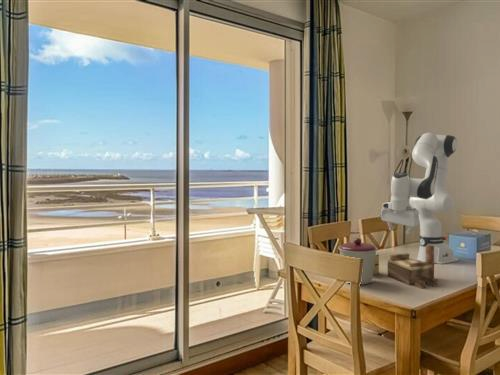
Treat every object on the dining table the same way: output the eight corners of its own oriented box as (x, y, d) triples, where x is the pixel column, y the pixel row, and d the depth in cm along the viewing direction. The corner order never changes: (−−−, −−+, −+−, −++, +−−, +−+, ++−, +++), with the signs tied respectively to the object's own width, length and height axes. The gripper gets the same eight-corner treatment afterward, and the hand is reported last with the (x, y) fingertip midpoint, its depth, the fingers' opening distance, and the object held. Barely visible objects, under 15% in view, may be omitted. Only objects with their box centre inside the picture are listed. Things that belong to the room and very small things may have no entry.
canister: (347, 288, 185) (347, 242, 184) (332, 278, 203) (332, 235, 202) (384, 286, 189) (384, 240, 187) (366, 275, 206) (366, 234, 205)
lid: (407, 259, 208) (407, 252, 207) (433, 267, 191) (433, 260, 191) (387, 261, 204) (387, 254, 204) (411, 270, 187) (411, 262, 187)
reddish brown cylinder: (430, 277, 201) (430, 245, 200) (435, 279, 198) (436, 246, 197) (423, 278, 200) (423, 245, 199) (429, 280, 196) (429, 247, 196)
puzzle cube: (351, 273, 211) (351, 254, 211) (362, 269, 218) (362, 251, 217) (367, 277, 204) (367, 257, 203) (379, 273, 210) (379, 254, 210)
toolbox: (407, 273, 208) (407, 260, 208) (440, 285, 187) (440, 270, 187) (387, 276, 204) (387, 262, 204) (418, 288, 183) (418, 273, 183)
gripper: (422, 207, 198) (421, 235, 201) (386, 201, 215) (386, 227, 217) (414, 209, 195) (414, 237, 197) (379, 203, 211) (378, 229, 214)
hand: (399, 232), depth 207 cm, fingers open, 8 cm apart
